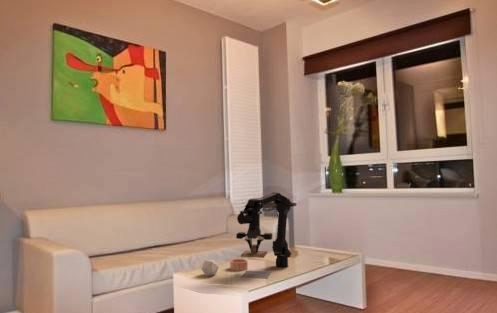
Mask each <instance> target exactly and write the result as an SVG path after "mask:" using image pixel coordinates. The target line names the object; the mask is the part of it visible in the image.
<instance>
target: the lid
mask: <svg viewBox="0 0 497 313" xmlns="http://www.w3.org/2000/svg"><path fill="white" fill-rule="evenodd" d="M256 249H257V243H256V244H253V243H252V246H251V250H244V251H243V252H242V253H241V254H240V257H241V258H257V259H258V258H260V259H263V258H265V256H266V255H268V251H266V250H265V251H264V250H258V252H256Z"/></svg>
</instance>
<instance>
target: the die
mask: <svg viewBox="0 0 497 313" xmlns="http://www.w3.org/2000/svg"><path fill="white" fill-rule="evenodd" d="M219 268H220V267H219V264H218V263H217V261H216V260H215V259H206V260H204V262H203V265H202V267H201V271H202V273H203V274H204V276H205V277H212V276H214V277H215V276H216V275H217V273H218V270H219Z"/></svg>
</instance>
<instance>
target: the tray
mask: <svg viewBox="0 0 497 313" xmlns="http://www.w3.org/2000/svg"><path fill="white" fill-rule="evenodd" d="M271 273H272V271H264V270H263V271H261V270H258V271H257V270H245V271H244V272H243V274H242V275H241V276H240V278H247V279H263V280H268V278H269V277H270V276H271Z"/></svg>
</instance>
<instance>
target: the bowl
mask: <svg viewBox="0 0 497 313" xmlns="http://www.w3.org/2000/svg"><path fill="white" fill-rule="evenodd" d="M229 265H230V266H229V269H230V270H231V271H234V272H235V271H236V272H241V271H242V272H243V271H244V272H245V271H248V268H249V260H247V259H244V258H233V259H231V260H230V262H229Z"/></svg>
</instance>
